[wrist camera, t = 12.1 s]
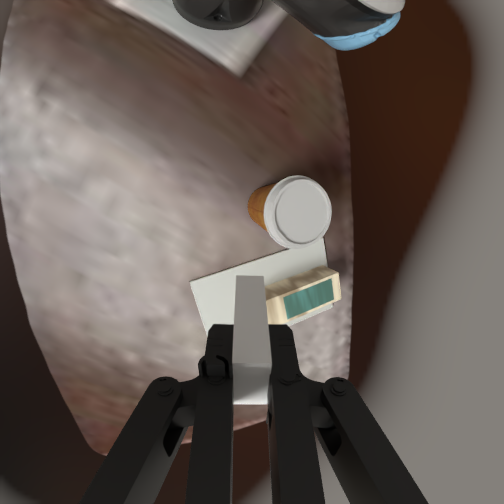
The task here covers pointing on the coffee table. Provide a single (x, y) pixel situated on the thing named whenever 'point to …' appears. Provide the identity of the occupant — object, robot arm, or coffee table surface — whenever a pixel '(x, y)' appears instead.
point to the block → (301, 294)
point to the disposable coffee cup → (292, 211)
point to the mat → (271, 267)
